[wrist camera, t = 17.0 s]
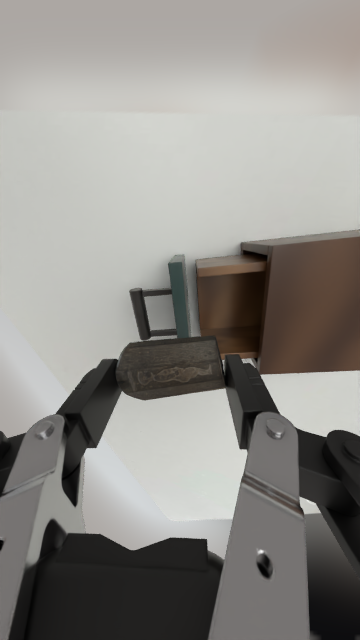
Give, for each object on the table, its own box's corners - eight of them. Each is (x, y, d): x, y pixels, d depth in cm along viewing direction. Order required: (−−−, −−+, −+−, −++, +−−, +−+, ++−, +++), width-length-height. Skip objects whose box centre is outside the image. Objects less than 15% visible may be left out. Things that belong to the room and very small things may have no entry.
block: (224, 372, 11) (231, 396, 9) (136, 389, 12) (127, 413, 10) (212, 321, 10) (217, 339, 8) (113, 345, 11) (99, 365, 9)
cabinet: (237, 332, 27) (259, 374, 19) (241, 242, 22) (272, 245, 13) (341, 326, 26) (413, 368, 17) (371, 228, 20) (496, 221, 12)
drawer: (151, 337, 27) (138, 370, 20) (135, 259, 22) (113, 268, 16) (277, 329, 25) (308, 362, 19) (289, 243, 21) (337, 245, 14)
